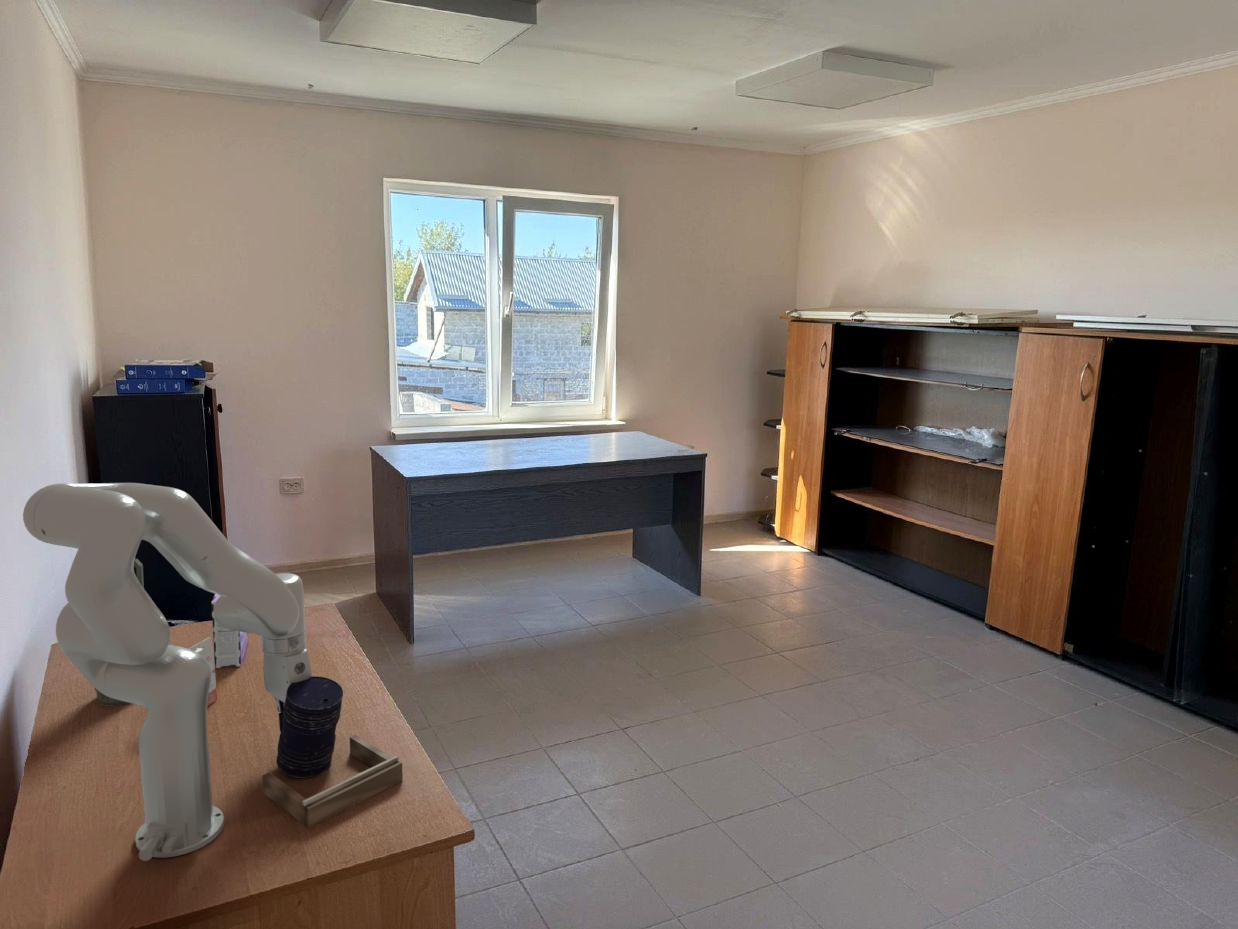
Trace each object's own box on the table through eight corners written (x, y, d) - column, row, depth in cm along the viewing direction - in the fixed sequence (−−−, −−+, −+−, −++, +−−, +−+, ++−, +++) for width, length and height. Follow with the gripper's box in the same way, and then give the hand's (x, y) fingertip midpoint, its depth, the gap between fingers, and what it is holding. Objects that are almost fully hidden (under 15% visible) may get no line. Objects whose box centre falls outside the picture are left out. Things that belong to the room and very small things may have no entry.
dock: (263, 793, 143) (262, 771, 142) (355, 751, 157) (354, 731, 156) (309, 828, 134) (308, 805, 133) (402, 780, 148) (402, 759, 147)
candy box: (223, 645, 202) (219, 581, 199) (249, 643, 204) (245, 580, 200) (214, 669, 189) (209, 601, 186) (242, 666, 191) (238, 599, 188)
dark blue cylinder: (264, 757, 150) (273, 688, 145) (309, 735, 158) (319, 669, 153) (298, 786, 145) (310, 717, 141) (343, 762, 153) (355, 695, 149)
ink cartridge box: (197, 697, 176) (193, 633, 173) (217, 700, 175) (213, 635, 172) (168, 716, 167) (163, 649, 165) (189, 719, 166) (184, 652, 164)
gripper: (325, 645, 149) (330, 736, 153) (281, 623, 158) (287, 710, 162) (287, 659, 144) (293, 753, 147) (244, 635, 153) (250, 725, 156)
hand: (290, 730), depth 155 cm, fingers closed
